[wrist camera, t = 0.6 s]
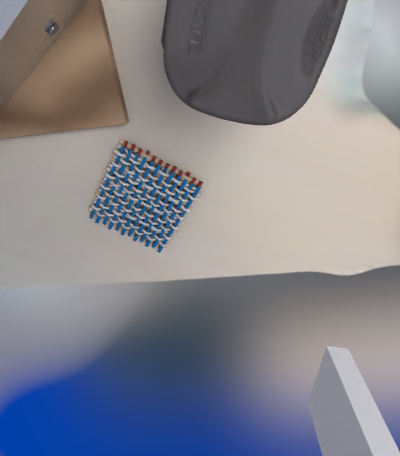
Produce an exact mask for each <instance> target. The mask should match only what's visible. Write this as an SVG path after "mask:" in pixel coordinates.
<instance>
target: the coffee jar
mask: <svg viewBox="0 0 400 456" xmlns="http://www.w3.org/2000/svg"><path fill="white" fill-rule="evenodd" d="M347 1H348V0H167V6H166V12H165V19H164V25H163V32H162V39H161V42H162V45H163V49H164V65H165V70H166V74H167V78H168V80H169V82H170V85H171V87H172V88H173V90H174V92H175V93H176V94H177V96H178V97H179V98H180V99H181V100H182V101H183V102H184V103H186V104H187V105H188V106H190V107H191V108H193V109H195V110H197V111H200V112H202V113H205V114H208V115H211V116H214V117H217V118H221V119H225V120H229V121H233V122H238V123H244V124H251V125H272V124H276V123H279V122H282V121H284V120H286V119H287V118H289V117H291V116H292V115H293V114H295V113H296V112H297V111H298V110H299V109H300V108H301V107H302V106H303V105H304V104H305V103H306V101H307V100H308V99H309V97H310V96H311V94H312V92H313V90H314V88H315V86H316V84H317V82H318V79H319V77H320V75H321V72H322V70H323V68H324V66H325V63H326V61H327V59H328V56H329V54H330V51H331V49H332V46H333V44H334V41H335V38H336V35H337V32H338V30H339V27H340V24H341V20H342V17H343V14H344V11H345V8H346V4H347Z"/></svg>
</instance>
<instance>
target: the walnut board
mask: <svg viewBox="0 0 400 456" xmlns="http://www.w3.org/2000/svg"><path fill="white" fill-rule="evenodd" d="M128 121H129V119H128V115H127V110H126V106H125V102H124V97H123V93H122V89H121V84H120V80H119V76H118V71H117V67H116V63H115V58H114V54H113V50H112V45H111V41H110V37H109V32H108V28H107V24H106V19H105V15H104V11H103V6H102V2H101V0H87V1H86V2H85V4H84V5H83V6H82V7H81V9H80V10H79V11H78V13H77V14H76V15H75V17H74V18H73V19H72V20H71V22H70V23H69V24H68V26H67V27H66V28H65V30H64V31H63V32H62V33H61V35H60V36H59V37H58V39H57V40H56V41H55V43H54V44H53V45H52V46H51V48H50V49H49V50H48V52H47V53H46V54H45V56H44V57H43V58H42V60H41V61H40V62H39V63H38V65H37V66H36V67H35V69H34V70H33V71H32V73H31V74H30V75H29V76H28V78H27V79H26V80H25V82H24V83H23V84H22V86H21V87H20V88H19V89H18V91H17V92H16V93H15V95H14V96H13V97H12V99H11V100H10V101H9V102H8V104H7V105H5V106H3V107H1V108H0V139H1V138H10V137H19V136H28V135H36V134H45V133H54V132H63V131H71V130H80V129H89V128H98V127H106V126H115V125H124V124H127V123H128Z"/></svg>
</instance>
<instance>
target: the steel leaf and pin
mask: <svg viewBox="0 0 400 456" xmlns="http://www.w3.org/2000/svg"><path fill="white" fill-rule="evenodd" d="M86 1H87V0H0V108H1V107H3V106H5V105H7V104H8V102H9V101H10V100H11V99H12V97H13V96H14V95H15V93H16V92H17V91H18V89H19V88H20V87H21V86H22V84H23V83H24V82H25V80H26V79H27V78H28V76H29V75H30V74H31V73H32V71H33V70H34V69H35V67H36V66H37V65H38V63H39V62H40V61H41V60H42V58H43V57H44V56H45V54H46V53H47V52H48V50H49V49H50V48H51V46H52V45H53V44H54V43H55V41H56V40H57V39H58V37H59V36H60V35H61V33H62V32H63V31H64V30H65V28H66V27H67V26H68V24H69V23H70V22H71V20H72V19H73V18H74V17H75V15H76V14H77V13H78V11H79V10H80V9H81V7H82V6H83V5H84V4H85V2H86Z"/></svg>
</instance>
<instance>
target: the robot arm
mask: <svg viewBox="0 0 400 456" xmlns="http://www.w3.org/2000/svg"><path fill="white" fill-rule="evenodd" d="M308 405H309V409H310V413H311V416H312V420H313V423H314V427H315V430H316V434H317V437H318V441H319V444H320V448H321V451H322V455H323V456H400V452H399V450H398V448H397V446H396V444H395V442H394V440H393V438H392V436H391V434H390V432H389V430H388V428H387V426H386V424H385V422H384V420H383V418H382V416H381V414H380V412H379V410H378V408H377V406H376V404H375V402H374V400H373V398H372V396H371V394H370V392H369V390H368V388H367V386H366V384H365V382H364V380H363V378H362V376H361V374H360V372H359V370H358V368H357V366H356V364H355V362H354V360H353V358H352V356H351V354H350V352H349V350H348V349H345V348H338V347H331V346H327V347H326V350H325V353H324V356H323V359H322V362H321V365H320V368H319V371H318V374H317V377H316V380H315V383H314V386H313V389H312V391H311V395H310V397H309V401H308Z"/></svg>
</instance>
